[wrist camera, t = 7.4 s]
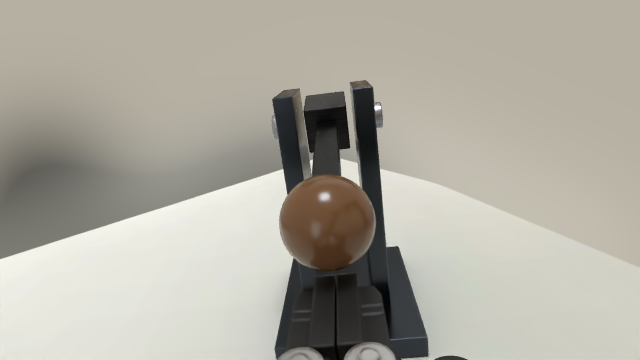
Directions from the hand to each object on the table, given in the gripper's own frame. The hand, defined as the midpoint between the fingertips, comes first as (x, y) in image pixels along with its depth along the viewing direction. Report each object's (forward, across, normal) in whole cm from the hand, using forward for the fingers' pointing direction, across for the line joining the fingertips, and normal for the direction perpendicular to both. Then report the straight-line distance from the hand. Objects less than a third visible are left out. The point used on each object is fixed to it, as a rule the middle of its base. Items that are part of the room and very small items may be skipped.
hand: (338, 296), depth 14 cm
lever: (+5, 0, -2) cm, 6 cm away
